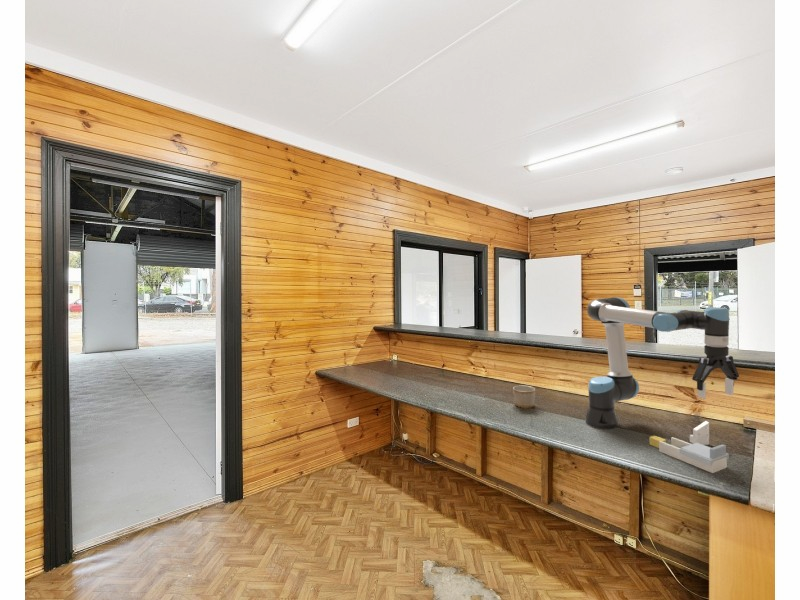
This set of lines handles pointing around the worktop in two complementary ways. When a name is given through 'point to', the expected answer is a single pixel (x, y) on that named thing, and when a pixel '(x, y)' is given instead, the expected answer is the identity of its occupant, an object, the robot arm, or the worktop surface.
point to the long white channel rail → (675, 452)
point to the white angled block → (701, 434)
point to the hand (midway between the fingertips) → (715, 395)
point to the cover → (704, 452)
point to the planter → (524, 396)
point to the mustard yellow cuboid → (656, 441)
